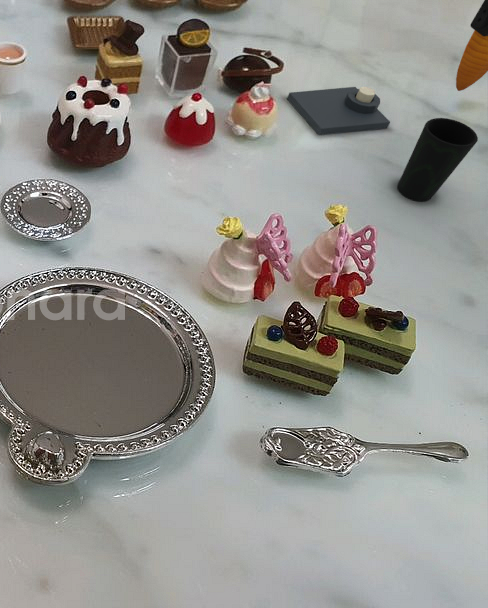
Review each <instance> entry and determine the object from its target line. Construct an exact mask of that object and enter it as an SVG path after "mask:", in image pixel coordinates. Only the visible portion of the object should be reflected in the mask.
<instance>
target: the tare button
mask: <svg viewBox="0 0 488 608" xmlns="http://www.w3.org/2000/svg"><path fill="white" fill-rule="evenodd" d="M358 89H359V91H358V93H357V95H356V99H357V100H359V101H361V102H365V103H370V102H371V101H372V99H373V97H374V95H375V94H376V90H375V89H374V88H371V87H369V86H362V87H360V88H358Z"/></svg>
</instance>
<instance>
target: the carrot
mask: <svg viewBox="0 0 488 608" xmlns="http://www.w3.org/2000/svg"><path fill="white" fill-rule="evenodd" d="M462 53H463V54H462V56H461V58H460V61H459V65H458V67H457V71H456V76H455V88H456V90H457V91H458V92H461V91H464V90H466V89H467V88H469V87H471V86H472V85H474V84H475V83H477V82H478V81H480V79H481V78H483V76H485V75H486V74H487V73H488V36H482V35H481V34H479V33H478V32H477V31H475V30H474V29H473V32H472V34H471V36H470V38H469V40H468V42H467V44H466V46H465V48H464V51H463V52H462Z"/></svg>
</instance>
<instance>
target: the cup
mask: <svg viewBox="0 0 488 608" xmlns="http://www.w3.org/2000/svg"><path fill="white" fill-rule="evenodd" d="M478 140H479V137H478V134H477V133H476V131H475V130H474V129H472V128H471V126H469V125H467V124H465V123H463V122H461V121H458V120H456V119H452V118H448V117H447V118H446V117H436V118H431V119H429V120H427V121H426V122H425V124H424V125H423V128H422V131H421V133H420V135H419V137H418V139H417V141H416V142H415V143H416V144H415V146H414V148H413V150H412V153H411V155H410V157H409V158H408V161H407V163H406V166H405V168H404V170H403V172H402V174H401V177H400V178H399V181H398V182H397V185H396V187H397V191H398V192H399V193H400V194H401V195H402V196H403V197H405V198H406V199H408V200H411V201H414V202H419V203H425V202H429V201H431V200H432V199H433V197H434V196H435V195H436V193H437V192H438V191H439V190H440V189H441V187H443V185H444V183H445V182H446V181H447V180H448V179H449V178H450V177H451V175H452V174H453V173H454V171H455V170H456V169H457V167H459V165H460V164H461V163H462V161H463V160H464V159H465V157H466V156H467V155H468V154H469V153H470V151H471V150H472V149H473V147H475V146H476V144H477V142H478Z"/></svg>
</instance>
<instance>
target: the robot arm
mask: <svg viewBox="0 0 488 608" xmlns="http://www.w3.org/2000/svg"><path fill="white" fill-rule="evenodd" d="M470 28H471V29H472V30H473V31H474V30H475V31H477V32H478V33H479V34H481V35H482V36H488V0H483V1H482V4H481V5H480V7H479V9H478V10H477V12H476V14H475V16H474V17H473V19H472V21H471V23H470Z"/></svg>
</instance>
